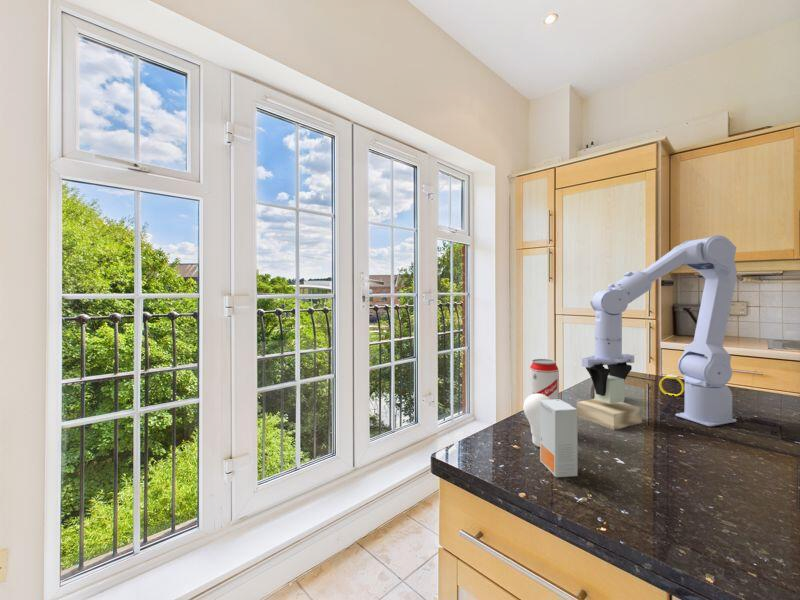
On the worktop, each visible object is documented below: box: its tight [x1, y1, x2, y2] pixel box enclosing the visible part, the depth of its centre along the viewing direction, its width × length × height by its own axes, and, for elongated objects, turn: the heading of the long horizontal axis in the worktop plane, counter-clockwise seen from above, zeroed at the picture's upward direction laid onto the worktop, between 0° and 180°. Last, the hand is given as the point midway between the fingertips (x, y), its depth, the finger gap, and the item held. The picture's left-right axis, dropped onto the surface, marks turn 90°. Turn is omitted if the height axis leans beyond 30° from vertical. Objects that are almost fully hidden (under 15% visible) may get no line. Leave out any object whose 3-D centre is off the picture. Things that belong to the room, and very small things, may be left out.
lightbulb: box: [522, 394, 551, 448], centre depth 76 cm, size 6×6×11 cm
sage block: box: [595, 375, 625, 404], centre depth 90 cm, size 4×4×6 cm
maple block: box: [576, 398, 643, 431], centre depth 91 cm, size 10×10×4 cm
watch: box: [658, 374, 685, 397], centre depth 110 cm, size 6×3×6 cm, turn 41°
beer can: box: [529, 358, 560, 400], centre depth 85 cm, size 6×6×16 cm
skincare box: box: [539, 398, 579, 478], centre depth 67 cm, size 6×4×12 cm
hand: (608, 393), depth 91 cm, fingers closed on sage block, 4 cm apart
